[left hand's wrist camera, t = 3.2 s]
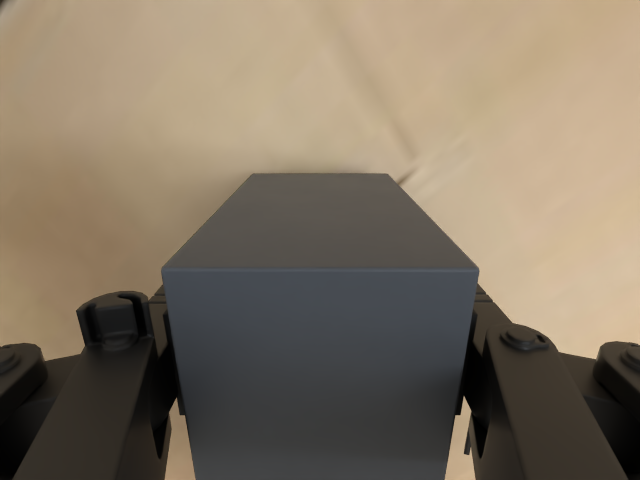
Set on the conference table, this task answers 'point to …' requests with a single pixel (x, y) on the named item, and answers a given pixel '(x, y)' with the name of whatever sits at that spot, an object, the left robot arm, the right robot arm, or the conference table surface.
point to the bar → (320, 332)
